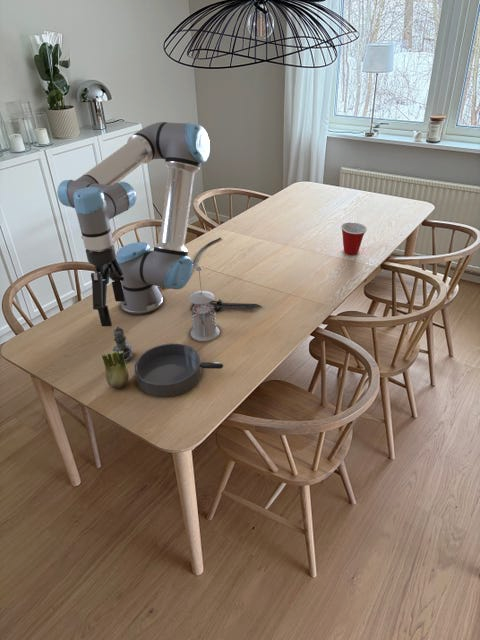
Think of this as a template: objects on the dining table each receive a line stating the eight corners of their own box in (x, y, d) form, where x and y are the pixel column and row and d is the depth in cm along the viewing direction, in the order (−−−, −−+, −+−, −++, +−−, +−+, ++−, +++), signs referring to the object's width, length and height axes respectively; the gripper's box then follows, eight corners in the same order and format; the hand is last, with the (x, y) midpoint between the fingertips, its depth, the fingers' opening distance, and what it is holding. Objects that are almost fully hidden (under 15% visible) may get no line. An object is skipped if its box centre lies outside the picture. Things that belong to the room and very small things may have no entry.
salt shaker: (118, 351, 151) (111, 320, 145) (136, 352, 151) (129, 321, 144) (112, 363, 147) (104, 331, 140) (130, 363, 146) (123, 332, 139)
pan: (145, 354, 150) (143, 343, 147) (205, 355, 148) (204, 343, 146) (129, 396, 134) (126, 384, 131) (196, 397, 132) (195, 385, 130)
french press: (220, 323, 162) (215, 258, 148) (218, 344, 153) (213, 276, 139) (191, 324, 163) (184, 259, 149) (188, 344, 153) (180, 277, 139)
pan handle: (199, 369, 138) (199, 364, 137) (200, 365, 139) (200, 360, 138) (223, 369, 137) (222, 365, 136) (223, 366, 139) (223, 361, 138)
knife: (262, 306, 171) (262, 302, 170) (259, 315, 166) (259, 312, 165) (196, 300, 176) (195, 297, 175) (191, 309, 170) (190, 306, 170)
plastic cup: (359, 260, 197) (362, 233, 191) (334, 255, 202) (336, 228, 196) (367, 250, 205) (371, 224, 198) (344, 245, 210) (346, 220, 203)
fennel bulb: (131, 381, 139) (124, 348, 132) (124, 392, 135) (116, 359, 129) (113, 378, 140) (105, 346, 134) (106, 389, 136) (97, 357, 130)
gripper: (100, 228, 138) (113, 291, 150) (68, 267, 117) (87, 337, 129) (125, 228, 138) (136, 291, 149) (98, 267, 117) (113, 337, 128)
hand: (113, 312), depth 139 cm, fingers open, 13 cm apart
